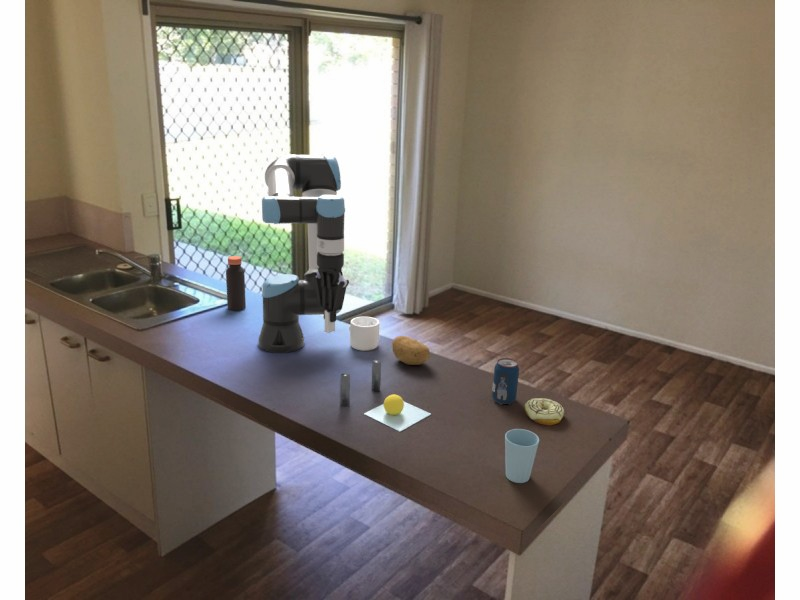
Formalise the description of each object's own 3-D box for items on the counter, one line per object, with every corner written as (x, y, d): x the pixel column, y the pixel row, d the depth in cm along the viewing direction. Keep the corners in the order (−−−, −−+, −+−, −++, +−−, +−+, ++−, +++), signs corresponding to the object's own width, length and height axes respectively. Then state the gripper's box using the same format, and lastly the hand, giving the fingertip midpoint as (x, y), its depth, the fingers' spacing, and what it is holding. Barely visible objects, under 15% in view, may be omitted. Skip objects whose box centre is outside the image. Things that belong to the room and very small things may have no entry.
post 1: (338, 404, 181) (338, 375, 178) (344, 401, 183) (345, 372, 180) (344, 407, 180) (345, 378, 177) (351, 404, 182) (352, 375, 179)
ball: (397, 415, 173) (384, 419, 177) (411, 408, 177) (398, 413, 180) (389, 395, 173) (376, 400, 177) (403, 389, 177) (390, 394, 181)
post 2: (369, 389, 191) (370, 361, 188) (375, 387, 192) (376, 359, 189) (376, 392, 189) (377, 364, 186) (382, 389, 191) (383, 361, 188)
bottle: (236, 312, 246) (234, 261, 239) (223, 308, 249) (221, 257, 243) (249, 307, 251) (247, 257, 245) (237, 303, 255) (234, 254, 248)
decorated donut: (528, 426, 175) (529, 413, 174) (521, 407, 185) (522, 395, 184) (566, 427, 175) (568, 415, 174) (557, 408, 185) (559, 396, 184)
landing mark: (363, 414, 177) (363, 413, 177) (395, 398, 186) (395, 397, 186) (399, 431, 169) (400, 431, 169) (431, 414, 178) (431, 413, 178)
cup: (535, 487, 148) (540, 447, 145) (501, 484, 149) (505, 444, 146) (533, 469, 155) (537, 430, 152) (500, 465, 156) (504, 427, 153)
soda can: (511, 394, 192) (515, 356, 188) (519, 405, 185) (523, 367, 181) (488, 395, 191) (492, 357, 187) (495, 406, 184) (499, 367, 180)
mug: (364, 336, 229) (365, 312, 226) (388, 344, 224) (389, 319, 221) (342, 346, 220) (343, 321, 217) (366, 354, 214) (367, 329, 211)
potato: (416, 374, 201) (417, 351, 199) (384, 360, 211) (385, 337, 208) (437, 366, 208) (438, 343, 206) (405, 352, 217) (406, 330, 215)
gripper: (304, 249, 182) (304, 328, 190) (336, 259, 174) (336, 341, 182) (324, 245, 188) (324, 321, 195) (356, 254, 180) (355, 334, 187)
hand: (329, 331), depth 189 cm, fingers closed
